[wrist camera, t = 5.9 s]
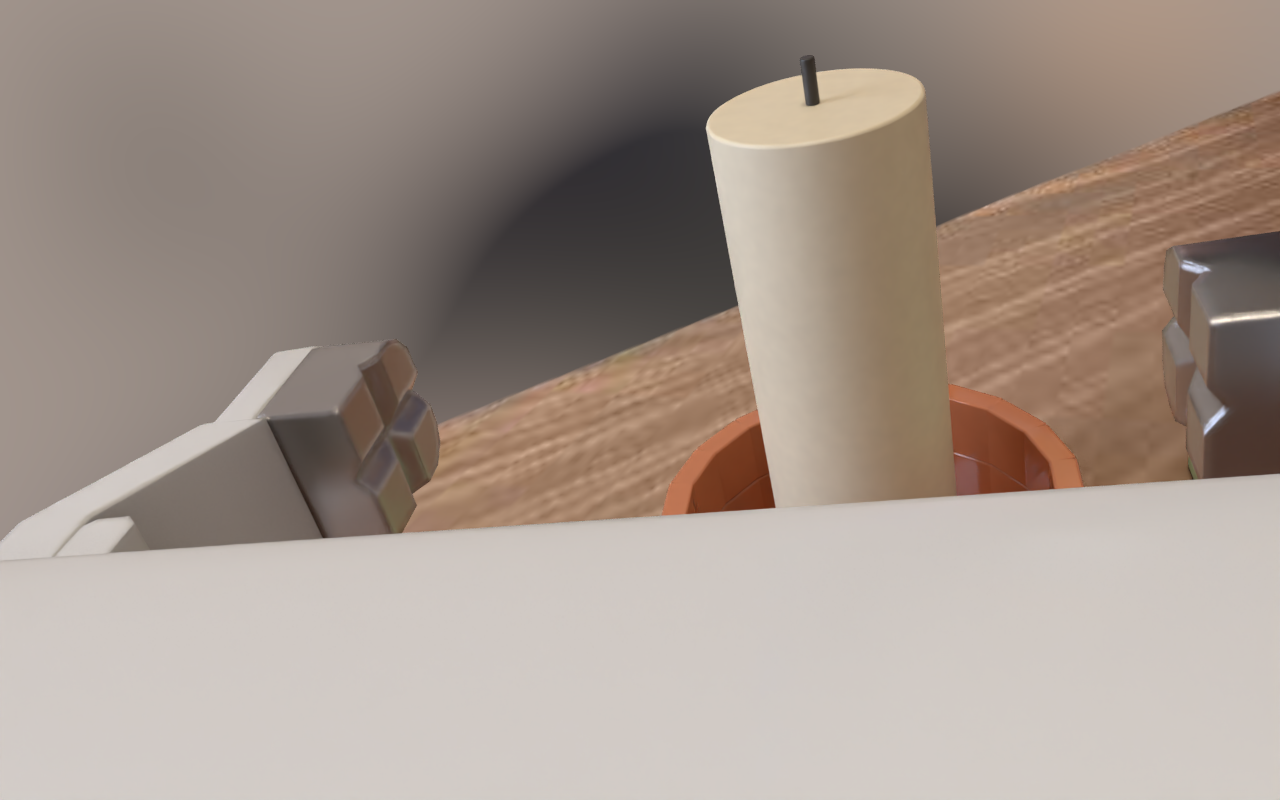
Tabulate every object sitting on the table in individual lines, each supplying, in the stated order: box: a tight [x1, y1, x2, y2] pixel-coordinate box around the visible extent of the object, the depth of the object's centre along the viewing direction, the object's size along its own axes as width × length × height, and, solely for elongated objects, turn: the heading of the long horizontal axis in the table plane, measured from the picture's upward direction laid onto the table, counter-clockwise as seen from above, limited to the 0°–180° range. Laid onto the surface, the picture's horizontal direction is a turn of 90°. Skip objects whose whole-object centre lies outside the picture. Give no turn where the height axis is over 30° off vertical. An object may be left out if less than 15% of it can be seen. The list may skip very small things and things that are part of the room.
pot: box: [662, 384, 1084, 516], centre depth 30 cm, size 11×11×4 cm
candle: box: [706, 55, 957, 508], centre depth 27 cm, size 5×5×15 cm
